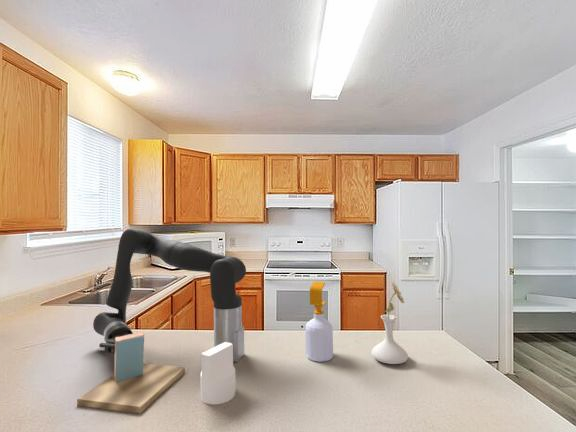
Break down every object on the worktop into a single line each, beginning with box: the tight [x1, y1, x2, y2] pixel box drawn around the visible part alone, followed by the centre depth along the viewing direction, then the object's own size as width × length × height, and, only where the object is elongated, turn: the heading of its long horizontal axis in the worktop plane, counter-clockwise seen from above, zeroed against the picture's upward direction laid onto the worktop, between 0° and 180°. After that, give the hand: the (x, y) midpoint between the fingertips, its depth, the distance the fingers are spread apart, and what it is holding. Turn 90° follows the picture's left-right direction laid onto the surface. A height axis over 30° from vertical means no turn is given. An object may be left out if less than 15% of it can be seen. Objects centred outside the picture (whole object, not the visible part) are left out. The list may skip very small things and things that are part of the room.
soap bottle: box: [305, 281, 334, 363], centre depth 102 cm, size 9×9×25 cm
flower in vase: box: [371, 280, 409, 365], centre depth 99 cm, size 13×11×25 cm
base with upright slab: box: [199, 342, 237, 405], centre depth 80 cm, size 9×9×12 cm
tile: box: [113, 331, 145, 382], centre depth 86 cm, size 2×7×12 cm, turn 128°
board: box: [76, 362, 186, 414], centre depth 84 cm, size 18×20×2 cm
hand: (128, 352), depth 87 cm, fingers closed
